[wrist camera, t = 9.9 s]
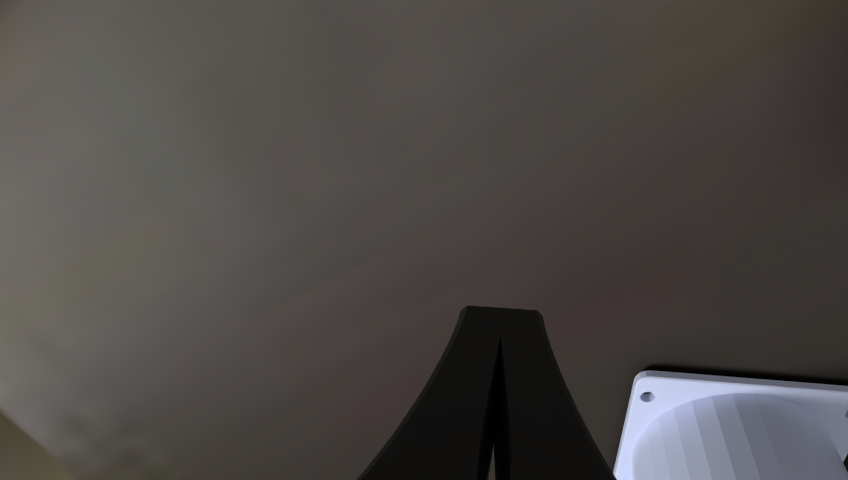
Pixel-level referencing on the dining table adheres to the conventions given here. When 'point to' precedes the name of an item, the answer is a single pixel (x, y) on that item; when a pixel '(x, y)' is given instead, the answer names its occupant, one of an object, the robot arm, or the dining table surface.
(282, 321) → the dining table surface
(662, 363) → the dining table surface
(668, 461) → the robot arm
